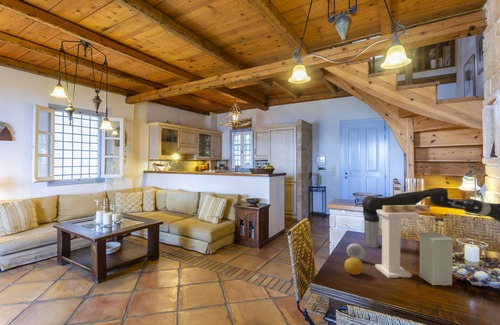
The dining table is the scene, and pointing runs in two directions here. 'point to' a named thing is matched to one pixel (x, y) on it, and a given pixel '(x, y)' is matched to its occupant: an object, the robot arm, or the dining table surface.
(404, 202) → the robot arm
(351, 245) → the donut
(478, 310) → the dining table surface
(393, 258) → the tall stand
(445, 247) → the green post
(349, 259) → the fruit
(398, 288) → the dining table surface
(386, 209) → the wooden bar
